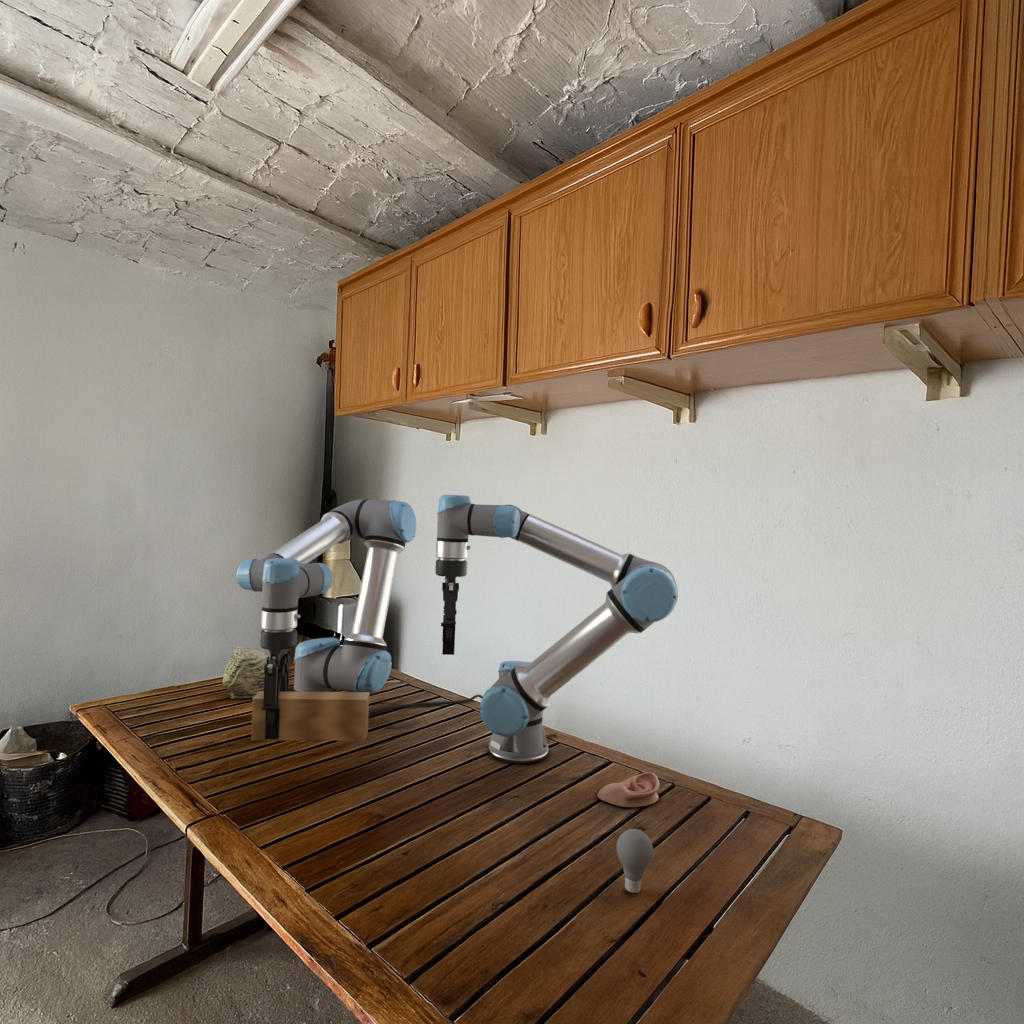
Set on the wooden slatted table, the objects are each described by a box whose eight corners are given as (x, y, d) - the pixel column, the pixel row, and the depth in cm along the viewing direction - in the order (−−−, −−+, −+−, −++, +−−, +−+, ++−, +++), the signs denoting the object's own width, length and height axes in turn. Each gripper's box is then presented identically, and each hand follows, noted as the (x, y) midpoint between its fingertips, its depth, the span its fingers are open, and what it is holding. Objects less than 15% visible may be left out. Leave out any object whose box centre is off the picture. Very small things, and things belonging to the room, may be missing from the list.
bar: (250, 740, 137) (252, 698, 137) (258, 731, 142) (259, 691, 142) (365, 740, 140) (366, 699, 139) (367, 731, 145) (369, 692, 145)
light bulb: (610, 879, 108) (613, 822, 108) (644, 879, 109) (647, 822, 109) (619, 902, 102) (622, 840, 102) (655, 901, 103) (658, 840, 103)
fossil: (218, 695, 195) (220, 647, 195) (278, 685, 208) (279, 640, 207) (228, 703, 189) (230, 653, 188) (289, 692, 201) (290, 645, 201)
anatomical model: (597, 785, 136) (600, 763, 147) (596, 803, 136) (599, 780, 147) (660, 793, 133) (659, 771, 144) (659, 812, 133) (658, 788, 144)
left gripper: (286, 638, 131) (282, 750, 131) (305, 621, 149) (301, 719, 149) (248, 637, 130) (244, 750, 130) (272, 620, 148) (269, 719, 149)
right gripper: (469, 565, 140) (465, 660, 140) (465, 554, 164) (462, 636, 165) (435, 564, 139) (431, 660, 139) (436, 553, 164) (433, 635, 164)
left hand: (275, 733), depth 140 cm, fingers closed on bar, 5 cm apart
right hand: (447, 647), depth 152 cm, fingers open, 13 cm apart
